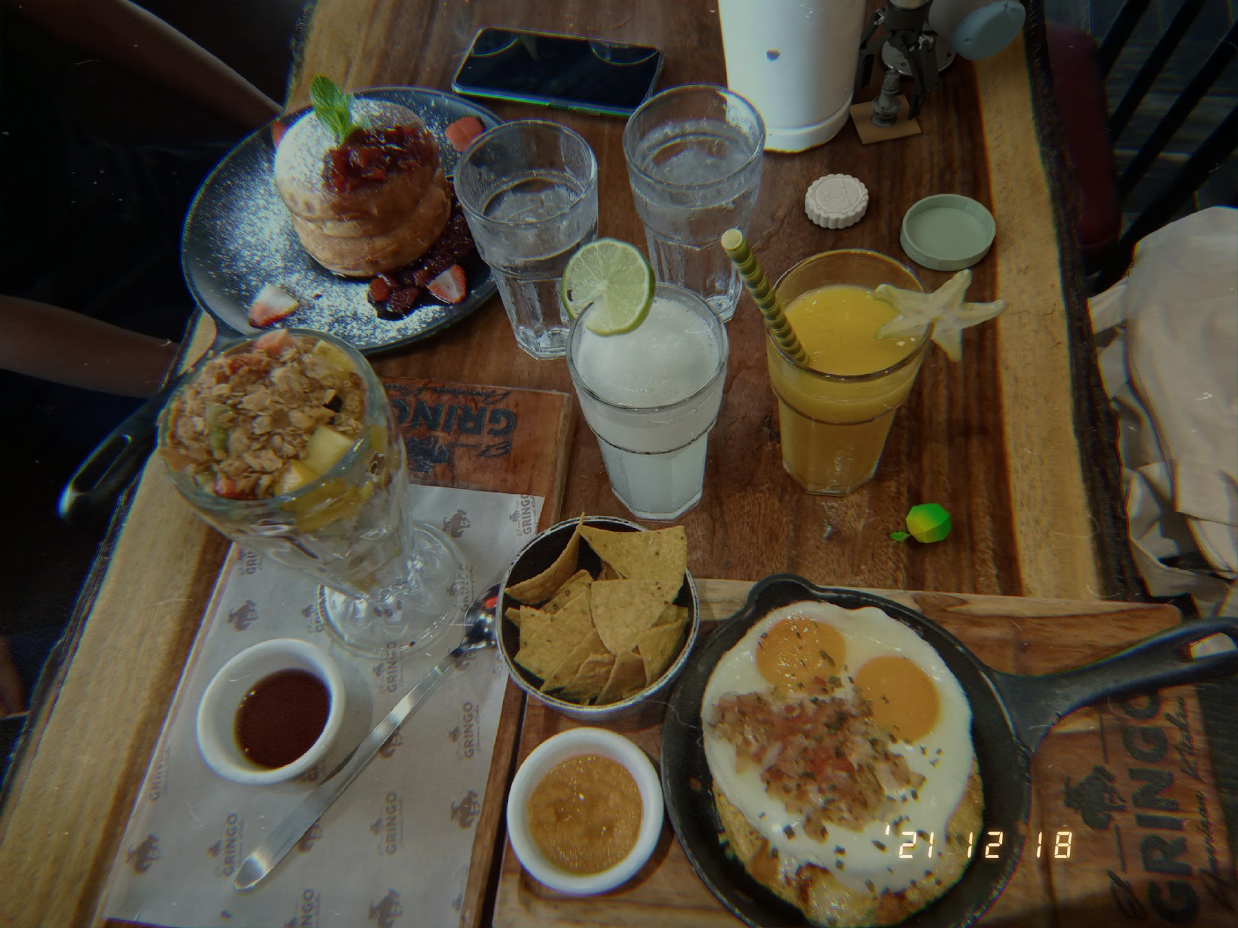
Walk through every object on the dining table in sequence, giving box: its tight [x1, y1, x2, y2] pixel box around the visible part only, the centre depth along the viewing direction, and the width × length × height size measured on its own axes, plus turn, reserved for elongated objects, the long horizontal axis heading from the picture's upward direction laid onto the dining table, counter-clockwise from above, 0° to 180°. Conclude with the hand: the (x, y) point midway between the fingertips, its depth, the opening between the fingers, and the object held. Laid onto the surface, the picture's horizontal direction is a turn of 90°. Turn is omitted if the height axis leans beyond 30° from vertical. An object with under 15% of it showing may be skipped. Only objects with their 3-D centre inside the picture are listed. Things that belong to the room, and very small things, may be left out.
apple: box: [889, 502, 952, 544], centre depth 112 cm, size 7×6×9 cm
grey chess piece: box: [871, 67, 902, 128], centre depth 149 cm, size 6×6×12 cm
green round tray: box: [899, 193, 997, 272], centre depth 138 cm, size 16×16×3 cm
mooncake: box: [804, 173, 869, 230], centre depth 144 cm, size 12×12×4 cm
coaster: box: [849, 93, 922, 146], centre depth 154 cm, size 12×12×1 cm
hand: (887, 101), depth 150 cm, fingers open, 13 cm apart
